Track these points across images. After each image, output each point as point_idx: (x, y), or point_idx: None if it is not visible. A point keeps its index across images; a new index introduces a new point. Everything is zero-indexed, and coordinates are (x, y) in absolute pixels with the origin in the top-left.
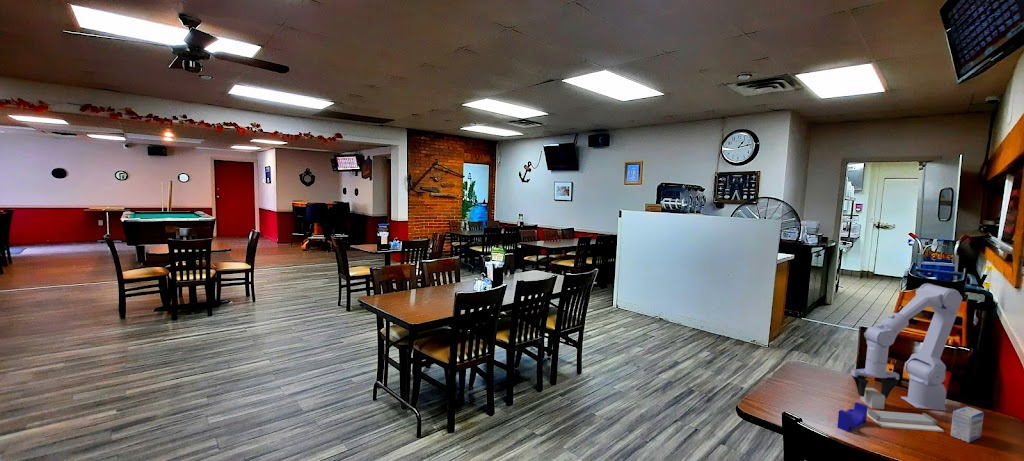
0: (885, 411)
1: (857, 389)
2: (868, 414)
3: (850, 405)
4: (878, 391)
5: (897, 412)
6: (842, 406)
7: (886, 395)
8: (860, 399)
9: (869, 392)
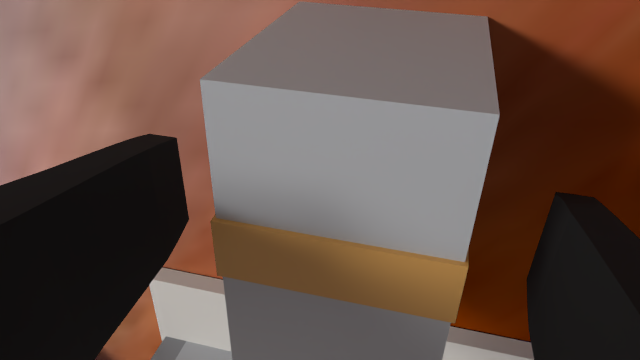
0: None
1: (82, 163)
2: (165, 343)
3: None
4: (447, 287)
5: (504, 355)
6: (16, 177)
7: (537, 342)
8: (297, 6)
9: (232, 289)
